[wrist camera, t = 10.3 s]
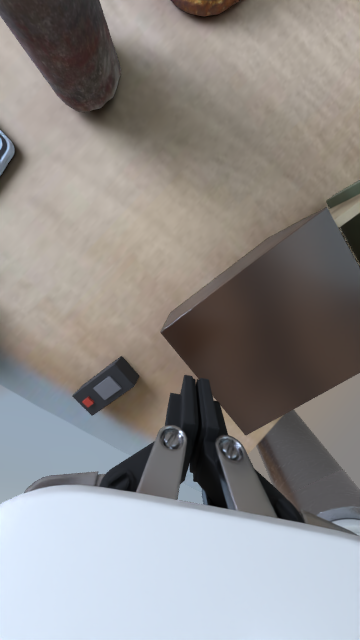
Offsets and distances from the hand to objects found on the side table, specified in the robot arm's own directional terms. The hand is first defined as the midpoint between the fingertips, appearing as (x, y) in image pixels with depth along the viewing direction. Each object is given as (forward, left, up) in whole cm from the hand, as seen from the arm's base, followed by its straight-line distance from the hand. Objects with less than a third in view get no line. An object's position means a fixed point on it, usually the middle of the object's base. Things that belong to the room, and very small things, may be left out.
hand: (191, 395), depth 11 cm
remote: (+1, +14, -13) cm, 20 cm away
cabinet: (-3, -8, -13) cm, 15 cm away
